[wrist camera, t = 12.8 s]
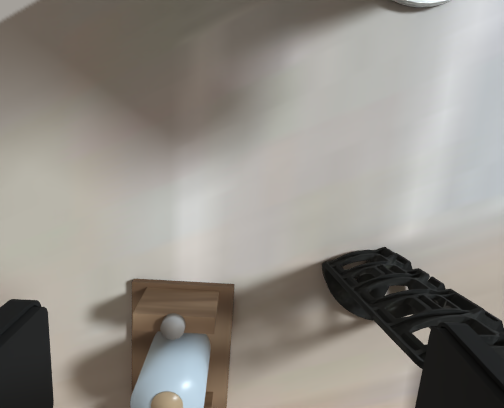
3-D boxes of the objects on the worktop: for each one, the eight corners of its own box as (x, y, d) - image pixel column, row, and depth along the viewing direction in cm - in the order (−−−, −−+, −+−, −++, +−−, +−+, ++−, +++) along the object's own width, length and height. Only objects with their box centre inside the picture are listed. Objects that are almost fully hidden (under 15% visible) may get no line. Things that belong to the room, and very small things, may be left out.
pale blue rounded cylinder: (151, 320, 39) (129, 373, 31) (211, 322, 39) (204, 375, 31) (151, 372, 40) (129, 436, 32) (209, 374, 40) (202, 438, 32)
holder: (305, 296, 39) (388, 445, 19) (333, 227, 38) (449, 310, 19) (402, 329, 40) (572, 500, 21) (431, 263, 40) (636, 376, 20)
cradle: (134, 278, 39) (111, 312, 32) (234, 284, 39) (232, 319, 32) (133, 399, 42) (113, 452, 35) (226, 403, 42) (223, 457, 36)
